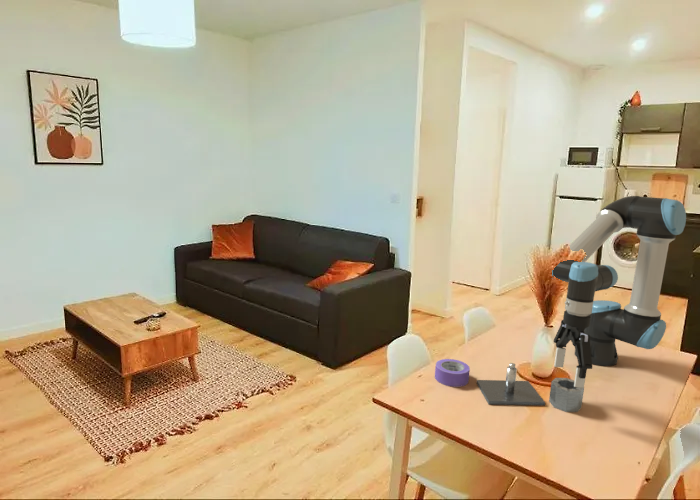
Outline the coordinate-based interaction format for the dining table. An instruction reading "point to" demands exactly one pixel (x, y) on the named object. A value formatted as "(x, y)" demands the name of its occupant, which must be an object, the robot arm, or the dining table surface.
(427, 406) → the dining table surface
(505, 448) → the dining table surface
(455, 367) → the tape roll
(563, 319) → the robot arm
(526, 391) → the shaft stand
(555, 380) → the ring
